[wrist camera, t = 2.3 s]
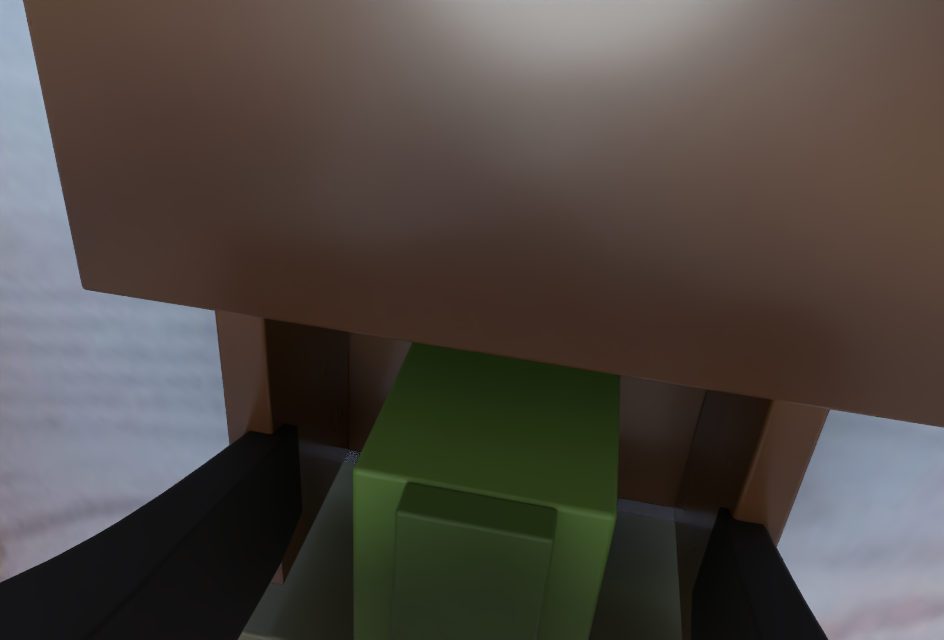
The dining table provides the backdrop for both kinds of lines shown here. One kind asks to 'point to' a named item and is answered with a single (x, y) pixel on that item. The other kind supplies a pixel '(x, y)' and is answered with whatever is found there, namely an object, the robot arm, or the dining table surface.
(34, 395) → the dining table surface
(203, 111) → the cabinet
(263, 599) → the drawer
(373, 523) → the green stepped block
